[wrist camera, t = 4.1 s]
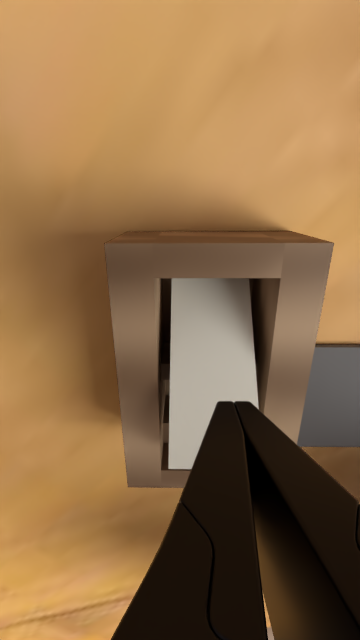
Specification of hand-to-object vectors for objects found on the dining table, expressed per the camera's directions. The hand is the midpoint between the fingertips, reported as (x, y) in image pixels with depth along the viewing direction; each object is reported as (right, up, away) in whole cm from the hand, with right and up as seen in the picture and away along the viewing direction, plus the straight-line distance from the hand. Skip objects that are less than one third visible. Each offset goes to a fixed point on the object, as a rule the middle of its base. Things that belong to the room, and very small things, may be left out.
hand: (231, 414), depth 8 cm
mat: (+10, -3, +12) cm, 16 cm away
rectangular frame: (0, +1, +11) cm, 11 cm away
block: (0, 0, +8) cm, 8 cm away
